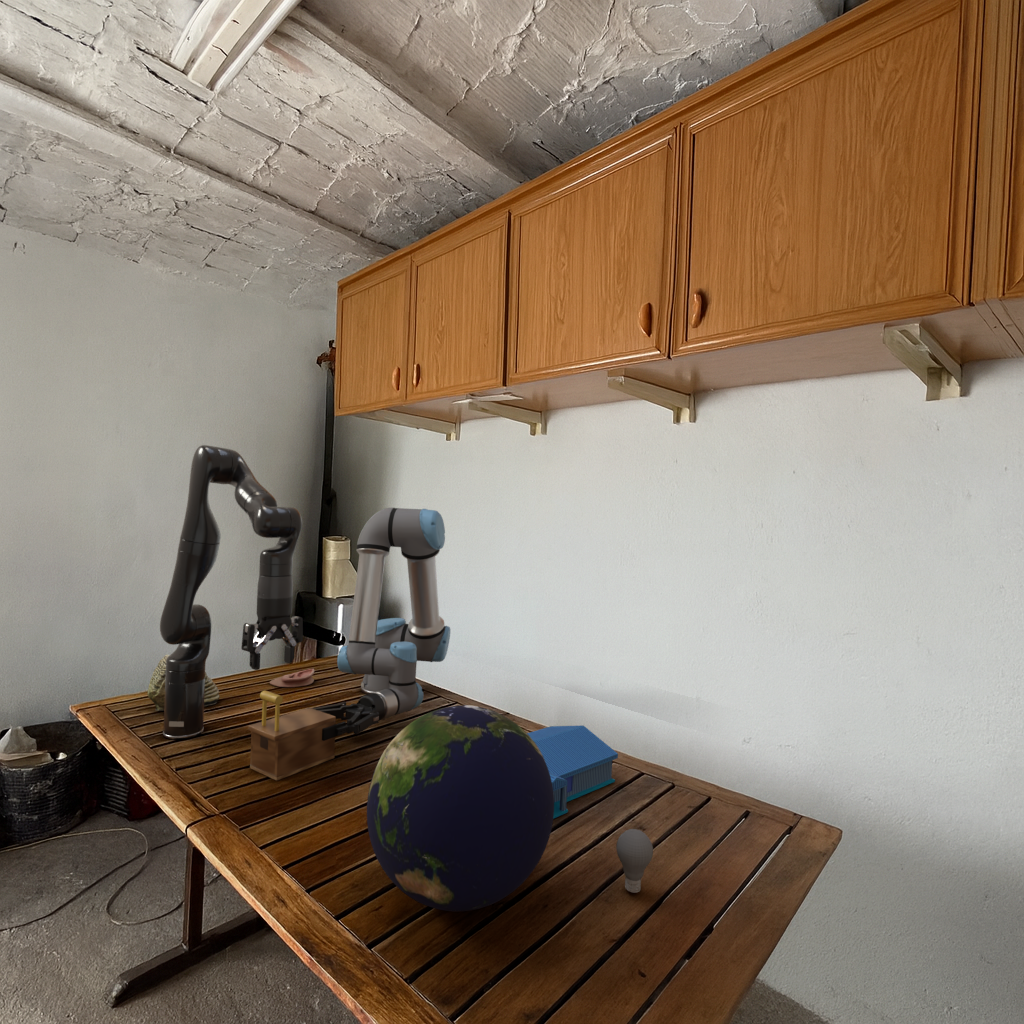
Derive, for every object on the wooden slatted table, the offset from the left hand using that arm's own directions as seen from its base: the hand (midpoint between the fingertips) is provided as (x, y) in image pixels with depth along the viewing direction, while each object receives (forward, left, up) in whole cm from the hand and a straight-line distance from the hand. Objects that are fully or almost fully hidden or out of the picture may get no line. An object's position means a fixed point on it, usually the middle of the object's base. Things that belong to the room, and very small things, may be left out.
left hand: (272, 665), depth 144 cm
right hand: (-2, +10, -18) cm, 21 cm away
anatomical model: (-62, +33, -24) cm, 74 cm away
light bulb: (+80, +28, -24) cm, 89 cm away
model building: (+43, +40, -24) cm, 64 cm away
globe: (+62, +5, -24) cm, 67 cm away
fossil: (-57, -2, -24) cm, 62 cm away
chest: (-1, +6, -24) cm, 25 cm away
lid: (-1, +6, -15) cm, 16 cm away
